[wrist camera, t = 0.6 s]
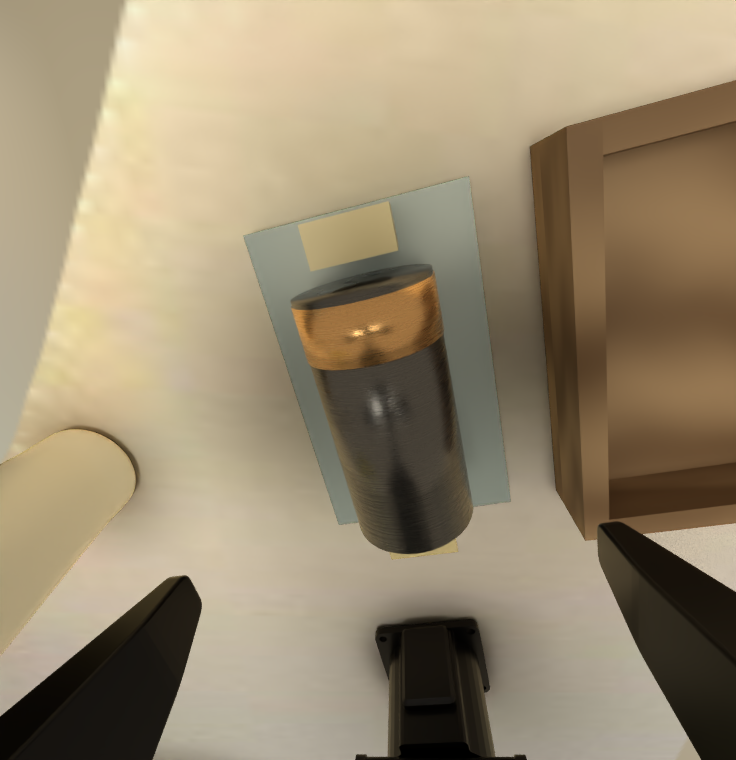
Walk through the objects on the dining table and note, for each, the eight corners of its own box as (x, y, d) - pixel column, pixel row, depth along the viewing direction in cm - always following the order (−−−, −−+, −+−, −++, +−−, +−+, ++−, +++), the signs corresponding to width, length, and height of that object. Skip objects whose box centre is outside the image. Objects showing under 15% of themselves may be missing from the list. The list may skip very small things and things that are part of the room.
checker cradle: (505, 488, 21) (528, 547, 17) (341, 512, 22) (329, 570, 18) (464, 178, 15) (485, 166, 12) (251, 234, 17) (210, 239, 13)
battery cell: (464, 465, 19) (485, 546, 15) (363, 481, 20) (352, 562, 15) (428, 257, 16) (441, 276, 11) (306, 286, 16) (269, 314, 12)
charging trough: (749, 463, 19) (821, 513, 16) (555, 489, 20) (585, 540, 17) (802, 73, 13) (930, 27, 10) (530, 146, 15) (566, 126, 12)
